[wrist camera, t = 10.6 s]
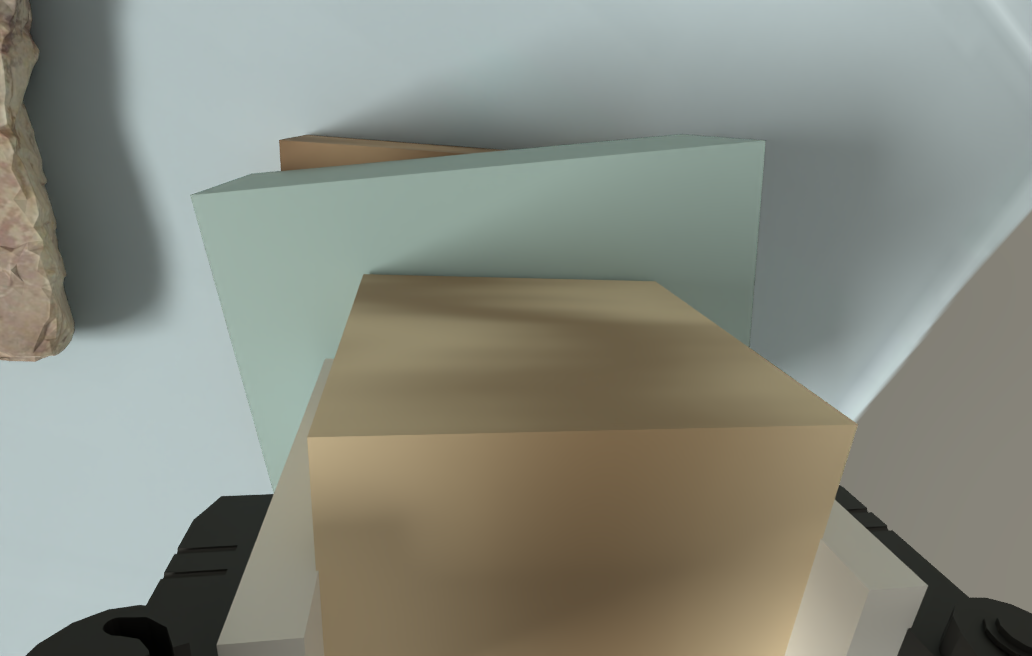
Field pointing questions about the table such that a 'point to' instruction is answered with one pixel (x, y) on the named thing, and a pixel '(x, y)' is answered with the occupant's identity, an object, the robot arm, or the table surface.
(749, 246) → the tower top
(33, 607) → the table surface
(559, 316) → the oak block
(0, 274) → the stone
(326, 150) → the tower base
